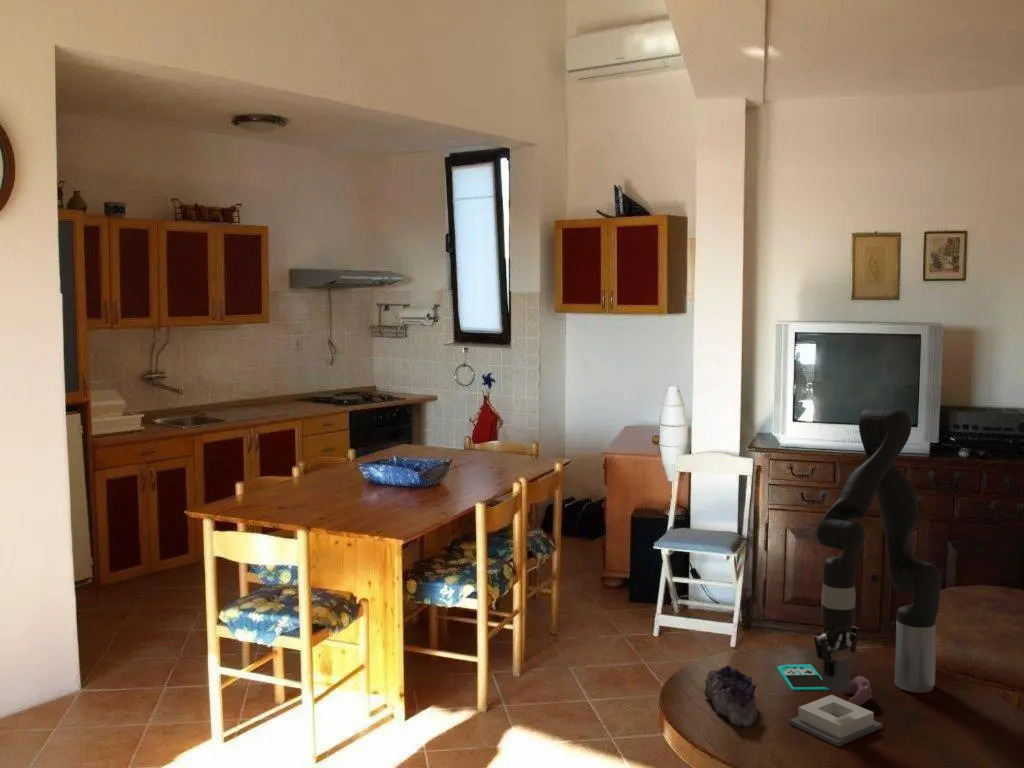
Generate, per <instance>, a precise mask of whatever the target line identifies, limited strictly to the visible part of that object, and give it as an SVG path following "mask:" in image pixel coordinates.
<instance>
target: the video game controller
mask: <svg viewBox="0 0 1024 768" xmlns="http://www.w3.org/2000/svg"><path fill="white" fill-rule="evenodd" d="M872 691H873V690H872V688H871V683H870V680H869V679H868V678H866V677H865V676H861V675H858V676H856V677H854V678H853V679H852V680H850V688H848V689H846V690H843V691H842V692H843V694H845V695H849V694H853V693H854V696H852V697H850V698H849V700H848V702H850V703H852V704H855V705H857V706H860V707H862V705H863V704H865V703H866V702H868V701H869V700H871V698H872V697H873V694H872Z"/></svg>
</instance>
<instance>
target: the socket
mask: <svg viewBox="0 0 1024 768" xmlns="http://www.w3.org/2000/svg"><path fill="white" fill-rule="evenodd" d="M848 701H849V700H848ZM848 701H847V700H845V699H842V698H841V697H838V696H836V695H834V694H830V695H827V696H823V697H822V698H819V699H817V700H814V701H811V702H808V703H806V704H803V705H801V706H798V712H797V713H798V716H795V717H793V718H791V719H788V720H789V721H788V723H789V724H788V725H791V726H794V727H795V728H797V729H799V730H801V731H803V732H805V733H808V734H810V735H812V736H814V737H817V738H819V739H821V740H823V741H825V742H827V743H830V744H832V745H834V746H836V747H841V746H844V745H845V744H848V743H851V742H853V741H855V740H857V738H858V739H860V738H862V737H865V736H867V735H869V733H870V734H871V732H872V733H874V732H876V730H877V731H879V730H881V729H883V723H881V722H879V721H876V720H874V716H875V715H874V713H875V712H874V711H871V710H869V709H866V708H864V707H862V706H857V705H855V704H852V703H850V702H848ZM878 729H879V730H878ZM866 734H867V735H866ZM864 735H865V736H864ZM861 736H862V737H861ZM859 737H860V738H859Z"/></svg>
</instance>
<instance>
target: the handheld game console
mask: <svg viewBox="0 0 1024 768" xmlns="http://www.w3.org/2000/svg"><path fill="white" fill-rule="evenodd" d="M776 667H777V671H778V673H779V674H780V676H781V677H782V678H783V680H784V682H786V684H787V686H788V687H789V689H790V691H793V692H798V691H800V692H803V691H804V692H806V691H807V692H808V691H818V692H819V691H830V690H831V689H828V688H826V687H823V686H822V676H821V675H820V674H819V672H818V671H817V670H816V668H815V667H814V665H812V664H809V663H808V664H806V663H805V664H802V663H801V664H799V663H797V664H793V663H792V664H791V663H790V664H781V665H778V666H776Z"/></svg>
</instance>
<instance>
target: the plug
mask: <svg viewBox="0 0 1024 768" xmlns="http://www.w3.org/2000/svg"><path fill="white" fill-rule="evenodd" d="M828 647H831V648H834V647H833V646H831V645H829V646H828ZM828 653H829V656H830V654H831V651H829V650H828ZM851 660H852V653H851V647H850V646H848V647H847V646H845V645H840V646H839V650H837V652H836V653H835V659H834V677H828V676H826V675H825V673H824V660H822V671H821V673H822V676H821V678H822V686H823V687H826V688H828V689H830V690H831V691H833V692H835V693H839V692H840V693H841V692H843V690H846V689H848V688H850V682H851V663H852V661H851Z"/></svg>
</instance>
